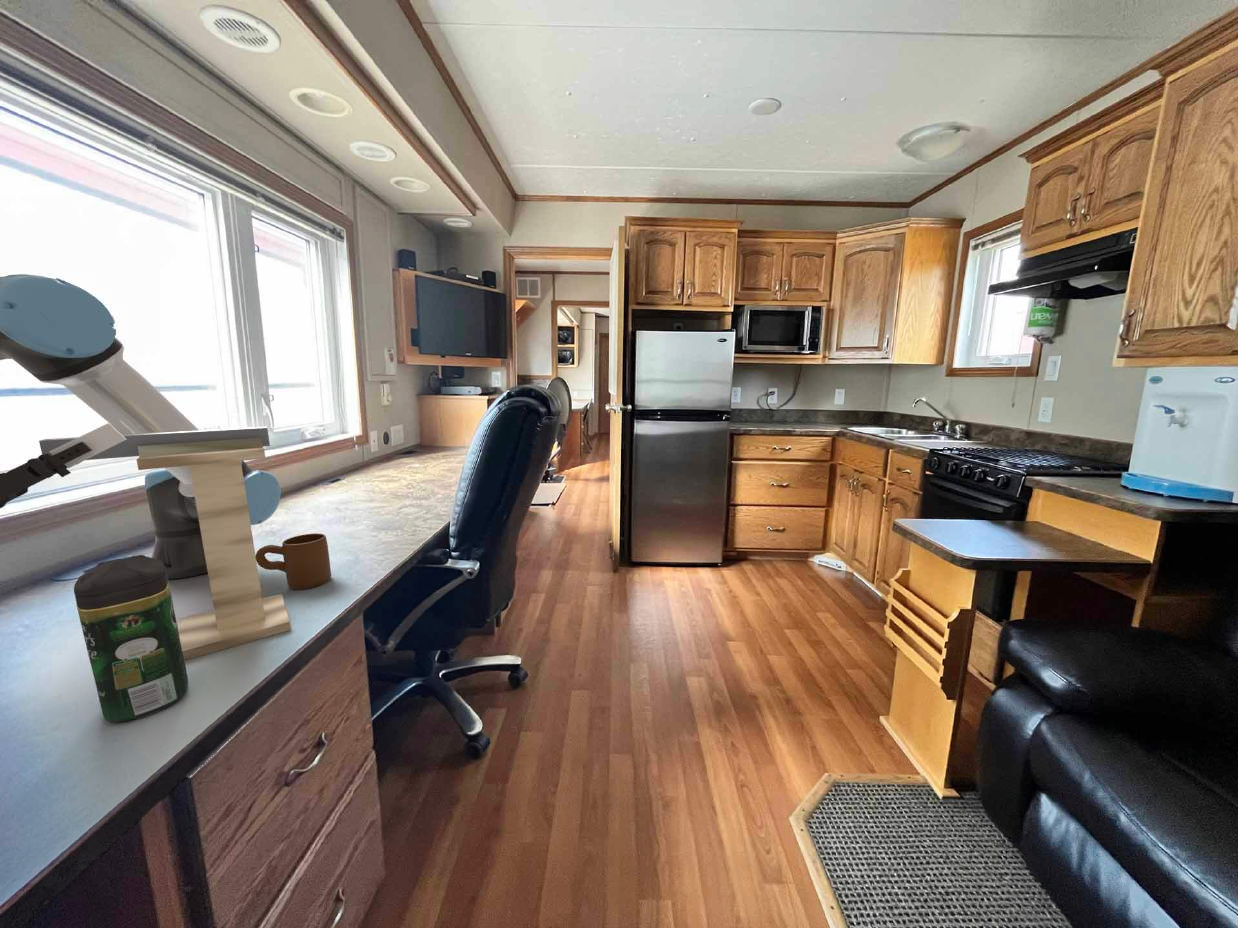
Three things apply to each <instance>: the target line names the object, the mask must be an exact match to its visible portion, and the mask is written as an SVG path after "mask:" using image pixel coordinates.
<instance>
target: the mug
mask: <svg viewBox="0 0 1238 928" xmlns="http://www.w3.org/2000/svg"><path fill="white" fill-rule="evenodd" d="M281 545H282V546H281ZM281 545H276V544H267V545H264V546H263V547H260V548H259V549H258V550H257V551H256V552H255V556H256V562H257V566H259V567H261V568H262V569H264V570H268V571H269V570H270V571H275V570H277V571H281V572H283V573H285V576H286V582H287V586H288V587H289V588H290V589H292V590H296V591H297V590H308V589H312V588H316V587H320V586H322V585H324V584H326V583H328V582H329V581H330V580H331V579H332V578H331V577H332V570H331V562H330V561H331V560H330V553H329V546H328V545H329V544H328V540H327V536H326V535H325V534H323V533H316V532H315V533H306V534H301V535H300V534H299V535H295V536H292V537H288V538H287V539H285V540H283V541H282V543H281ZM266 554H277V555H282V557H283V561H281V560H272V561H271V560H269V559H268V558H266Z"/></svg>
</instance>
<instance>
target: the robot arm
mask: <svg viewBox="0 0 1238 928" xmlns="http://www.w3.org/2000/svg"><path fill="white" fill-rule="evenodd" d="M115 323H116V321H115V318H114V316H113V315H112V312H111V311H110V309H109V307H108V306H106V304H105V303H104V302H103V301H102V299H100V298H98V297H97V296H96V295H95V294H94V293H92V292H91V291H89V290H87V289H86V288H84V287H82V286H80V285H78V284H76V283H75V282H71V281H68V280H65V279H62V278H57V277H55V276H49V275H35V274H27V273H26V274H25V273H24V274H22V273H20V274H8V275H5V276H0V361H2V360H13V361H14V362H16V363H17V364H18V365H19V366H21V367H22V368H23V369H24V370H26V371H27V372H28V373H29V374H31V375H32V376H33V377H35V378H36V379H37V381H39V382H42V383H43V384H44V383H45V384H53V385H61V386H63V387H65V389H67V390H68V391H70V392H71V393H72V394H74V395H75V396H76V397H77V398H79V400H81V401H82V402H83V403H84V404H85V405H87V406H88V407H89V408H91V410H93V411H94V412H95V413H96V414H98V415H99V416H100V417H101V418H102V419H104V420H105V421H107V423H105V424H104V425H102V426H99V427H97V428H96V429H93V430H91V431H89V432H87V433H85V434H83V435H81V436H78V438H76V439H74V440H72V441H70V442H68V443H66V444H64V445H61V446H59V447H57V448H55V449H53V450H51V451H49V452H50V453H51V454H52V455H53V456H51V455H49V454H48V453H47V454H42V453H41V454H40V455H38V457H36V458H30V459H28V460H27V461H26V462H25V463H22V464H21V465H19V466H16V467H14V468H12V469H10V470H8V471H6V472H1V473H0V509H3V508H4V507H5V506H6V505H7V503H9V502H11V501H14V500H15V499H17V498H19V497H21V496H23V495H26V494H27V493H28V492H29V488H30V487H33V486H34V485H36V484H39V483H40V482H42V481H45V480H46V479H50V478H51V477H52V478H53V476H54V475H59V476H60V477H61V478H64V477H65V476H68V475H70V474H72V472H71V471H70V470H69V469H70V468H72V467H74V466H77V465H79V464H80V463H82V462H84V461H87V460H86V459H88V458H90V457H92V456H94V455H96V454H98V453H100V452H102V451H104V450H106V449H108V448H110V447H112V446H114V445H116V444H118V443H120V442H122V441H124V440H126V438H125V437H124V436H123V435H128V434H146V433H163V432H181V431H199V430H200V429H199V428H198V427H197V426H196V425H195V424H194V423H193V422H192V421H190V420H189V419H188V418H187V417H186V416H185V415H184V414H183V413H182V412H181V411H180V410H179V409H178V408H177V407H176V406H175V405H174V404H173V403H171V402H170V401H169V400H168V399H167V398H166V397H165V396H164V394H162V393H161V392H160V391H159V390H158V389H157V388H156V387H155V386H154V385H153V384H151V382H149V381H148V380H147V379H146V378H145V377H144V376H143V375H142V374H141V373H140V372H139V371H138V370H137V369H136V368H135V366H133V365H131V363H130V362H128V360H126V359H125V357H124V349H125V343H124V342H123V341H122V340H121V339H119V337H117V329H116V328H115V326H114V325H115ZM241 465H242V472H243V478H244V485H245V491H246V498H247V504H248V511H249V517H250V524H251V526H255V525H259V524H262V523H265V522H266V521H267V520H269V519H270V518H271V517H272V516H273V515H274V514H275V512H276V511H277V509H278V507H279V505H280V502H281V495H282V491H281V484H280V482H279V480H278V479H277V478H276V477H275V476H274V475H273V474H272V473H270V472H267V471H264V470H262V469H261V470H259V469H257V470H254V469H253V468H251V466H249V465H248V463H246V462H245V461H241ZM144 492H145V493H146V497H147V498H146V499H147V503H148V508H149V512H150V518H151V522H152V526H153V527H152V528H153V533H154V538H155V542H154V546H153V549H152V554H151V556H150V558H155V559H158V560H160V561H162V563H163V564H164V565H165V566H166V574H167V577H168V580H175V579H184V578H191V577H196V576H200V575H205V574H208V570H207V565H206V559H205V553H204V547H203V542H202V536H201V530H200V524H199V519H198V513H197V507H196V501H195V496H194V490H193V484H192V478H191V473H190V467H189V466H179V467H168V468H163V469H159V470H153V471H150V472H148V473H147V474H145V477H144Z"/></svg>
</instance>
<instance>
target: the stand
mask: <svg viewBox="0 0 1238 928" xmlns="http://www.w3.org/2000/svg"><path fill="white" fill-rule="evenodd" d="M137 447H138V453H139V456H138V457H137V458H136V465H137V470H138V471H146V470H153V469H154V470H155V469H165V468H168V467H179V466H189V467H190V473H191V478H192V484H193V490H194V496H195V501H196V507H197V513H198V519H199V524H200V530H201V536H202V542H203V547H204V553H205V559H206V565H207V570H208V573H207V574H208V575H207V576H208V579H209V580H208V581H209V587H210V592H211V593H210V594H211V599H212V604H213V610H209V611H205V612H201V613H196V614H192V615H188V616H184V617H181V618H180V617H179V620H178V623H177V627H178V632H179V638H180V643H181V648H182V652H183V657H184V661H188V660H191V659H194V658H197V657H201V656H205V655H208V654H212V653H216V652H218V651H222V650H226V649H229V648H233V647H237V646H240V645H243V644H247V643H251V642H254V641H258V640H262V639H264V638H267V637H271V636H272V637H273V636H274V635H278V634H281V633H282V634H283V633H286V632H290V631H291V622H290V619H289V614H288V611H287V607H286V604H285V601H284V600H285V599H284V598H283V594H282V593H279V594H276V595H275V594H274V595H270V596H266V597H263V595H262V590H261V583H260V576H259V570H258V563H257V561H256V549H255V544H254V537H253V531H252V525H251V524H250V517H249V511H248V504H247V498H246V491H245V485H244V478H243V472H242V465H241V461H244V462H245V461H254V460H255V461H256V460H265V459H267V458H266V453H265V452H266V451H265V448H264V447H263V444H262V438H249V439H234V440H219V441H204V442H189V443H175V444H160V445H145V446H137Z"/></svg>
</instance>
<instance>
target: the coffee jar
mask: <svg viewBox="0 0 1238 928" xmlns="http://www.w3.org/2000/svg"><path fill="white" fill-rule="evenodd" d="M169 583H170V582H169V579H168V577H167V574H166V566H165V565H164V564H163V563H162V561H160V560H158V559H155V558H151V556H150V557H149V556H145V555H144V554H139V555H134V556H128V557H121V558H117V559H111V560H106V561H102V562H99V563H98V564H96V565H95V566H93V567H92V568H90V569H89V570H87V571H85V572H84V573H82V574H81V575H80V576H79V577H78V578H77V580H76V582H75V583H74V587H73V594H74V598H75V603H76V604H75V605H76V608H77V613H78V618H79V622H80V627H81V629H82V635H83V638H84V642H85V649H86V651H87V655H88V660H89V662H90V666H91V671H92V676H93V678H94V684H95V688H96V691H97V695H98V700H99V701H98V702H99V704H100V705H99V706H100V709H101V713H102V717H103V719H104V720H105V721H107V722H108V723H113V724H114V723H118V722H125V721H133V720H138V719H141V718H144V717H147V716H150V715H153V714H156V713H158V712H160V711H162V710H163V709H165V708H167V707H168V706H170V705H172V704H174V703H175V702H179V700H181V699H182V698H183V697H184V696H185V694H186V692H187V690H188V686H189V679H188V673H187V668H186V662H185V661H186V660H184V657H183V652H182V648H181V643H180V638H179V632H178V622H177V618H176V617H177V616H176V613H175V612H176V611H175V607H174V603H173V602H174V601H173V597H172V593H171V588H170V584H169Z"/></svg>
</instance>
